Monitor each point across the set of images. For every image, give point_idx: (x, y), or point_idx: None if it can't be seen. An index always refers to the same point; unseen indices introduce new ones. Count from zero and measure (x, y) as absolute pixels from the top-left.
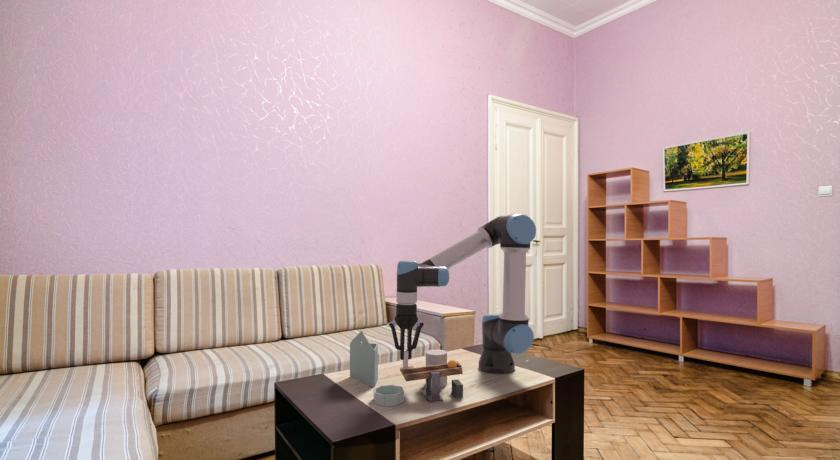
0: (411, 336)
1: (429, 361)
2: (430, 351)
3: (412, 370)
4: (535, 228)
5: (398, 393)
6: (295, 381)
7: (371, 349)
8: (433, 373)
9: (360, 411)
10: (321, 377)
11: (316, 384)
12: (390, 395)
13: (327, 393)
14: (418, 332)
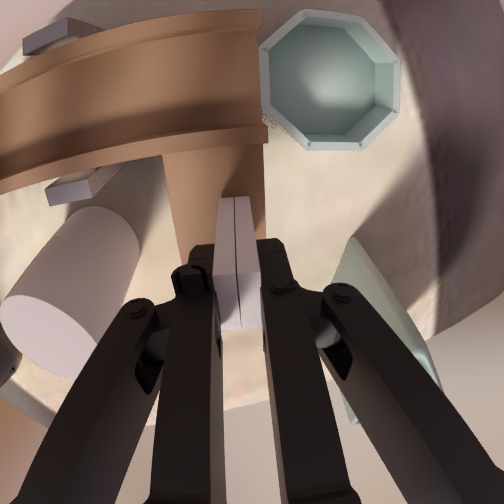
0: (157, 432)
1: (84, 286)
2: (80, 359)
3: (191, 131)
4: None
5: (292, 17)
6: (490, 294)
7: (429, 353)
8: (57, 21)
9: (423, 16)
10: (446, 319)
11: (472, 274)
12: (333, 12)
13: (477, 204)
14: (51, 466)
